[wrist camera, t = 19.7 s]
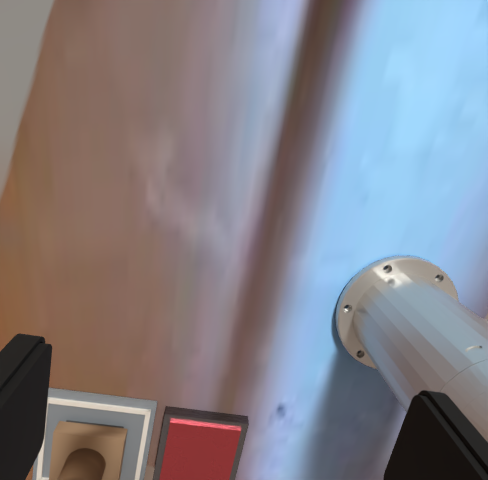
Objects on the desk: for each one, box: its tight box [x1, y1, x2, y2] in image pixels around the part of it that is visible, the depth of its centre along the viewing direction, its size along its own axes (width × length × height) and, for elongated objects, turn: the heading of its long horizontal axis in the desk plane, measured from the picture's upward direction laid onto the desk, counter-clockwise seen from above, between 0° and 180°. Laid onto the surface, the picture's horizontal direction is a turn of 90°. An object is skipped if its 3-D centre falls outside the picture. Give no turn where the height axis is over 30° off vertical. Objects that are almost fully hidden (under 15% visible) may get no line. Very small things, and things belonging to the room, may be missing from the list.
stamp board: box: [33, 388, 157, 480], centre depth 44 cm, size 12×13×1 cm
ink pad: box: [153, 406, 249, 480], centre depth 44 cm, size 9×12×2 cm
